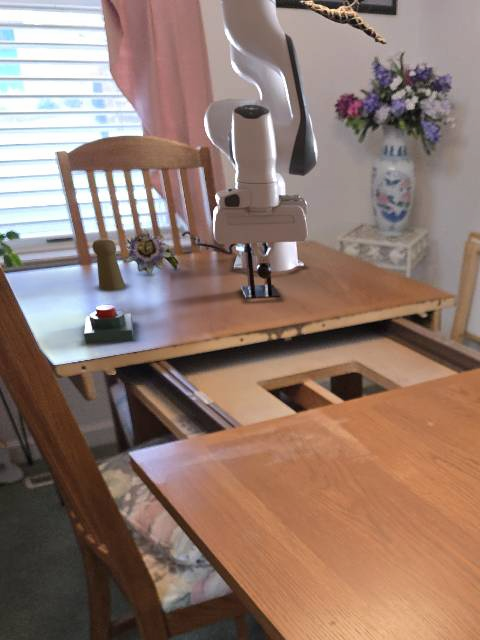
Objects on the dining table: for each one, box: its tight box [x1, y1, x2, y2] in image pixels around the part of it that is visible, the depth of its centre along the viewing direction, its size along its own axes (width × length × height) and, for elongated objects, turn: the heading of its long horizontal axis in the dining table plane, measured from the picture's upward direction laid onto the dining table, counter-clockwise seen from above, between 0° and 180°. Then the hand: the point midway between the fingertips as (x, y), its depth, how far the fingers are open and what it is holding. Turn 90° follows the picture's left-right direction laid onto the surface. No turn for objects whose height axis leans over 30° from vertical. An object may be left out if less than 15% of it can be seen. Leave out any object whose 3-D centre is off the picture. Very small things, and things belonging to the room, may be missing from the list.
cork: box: [92, 238, 126, 292], centre depth 169 cm, size 6×6×11 cm
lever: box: [251, 243, 272, 279], centre depth 161 cm, size 13×3×3 cm, turn 18°
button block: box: [83, 309, 135, 345], centre depth 145 cm, size 11×9×4 cm
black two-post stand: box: [240, 243, 281, 300], centre depth 167 cm, size 10×8×13 cm
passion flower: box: [123, 228, 179, 276], centre depth 184 cm, size 11×11×12 cm
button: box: [95, 304, 116, 318], centre depth 144 cm, size 4×4×2 cm
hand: (263, 263), depth 158 cm, fingers closed, pressing on lever
